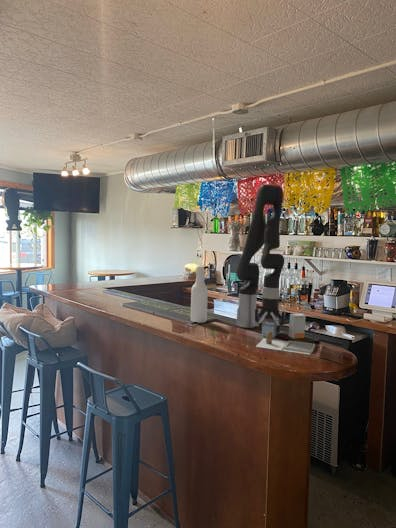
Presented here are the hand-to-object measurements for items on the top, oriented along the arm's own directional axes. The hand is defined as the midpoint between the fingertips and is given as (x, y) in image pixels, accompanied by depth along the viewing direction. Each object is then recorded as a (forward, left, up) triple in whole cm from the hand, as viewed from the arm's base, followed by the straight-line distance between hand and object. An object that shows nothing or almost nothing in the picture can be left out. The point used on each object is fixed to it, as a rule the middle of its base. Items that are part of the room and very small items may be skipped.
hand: (269, 331), depth 184 cm
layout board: (+10, -14, -3) cm, 17 cm away
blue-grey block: (0, 0, -3) cm, 3 cm away
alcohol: (-42, +16, -3) cm, 45 cm away
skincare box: (+12, +4, -3) cm, 13 cm away
